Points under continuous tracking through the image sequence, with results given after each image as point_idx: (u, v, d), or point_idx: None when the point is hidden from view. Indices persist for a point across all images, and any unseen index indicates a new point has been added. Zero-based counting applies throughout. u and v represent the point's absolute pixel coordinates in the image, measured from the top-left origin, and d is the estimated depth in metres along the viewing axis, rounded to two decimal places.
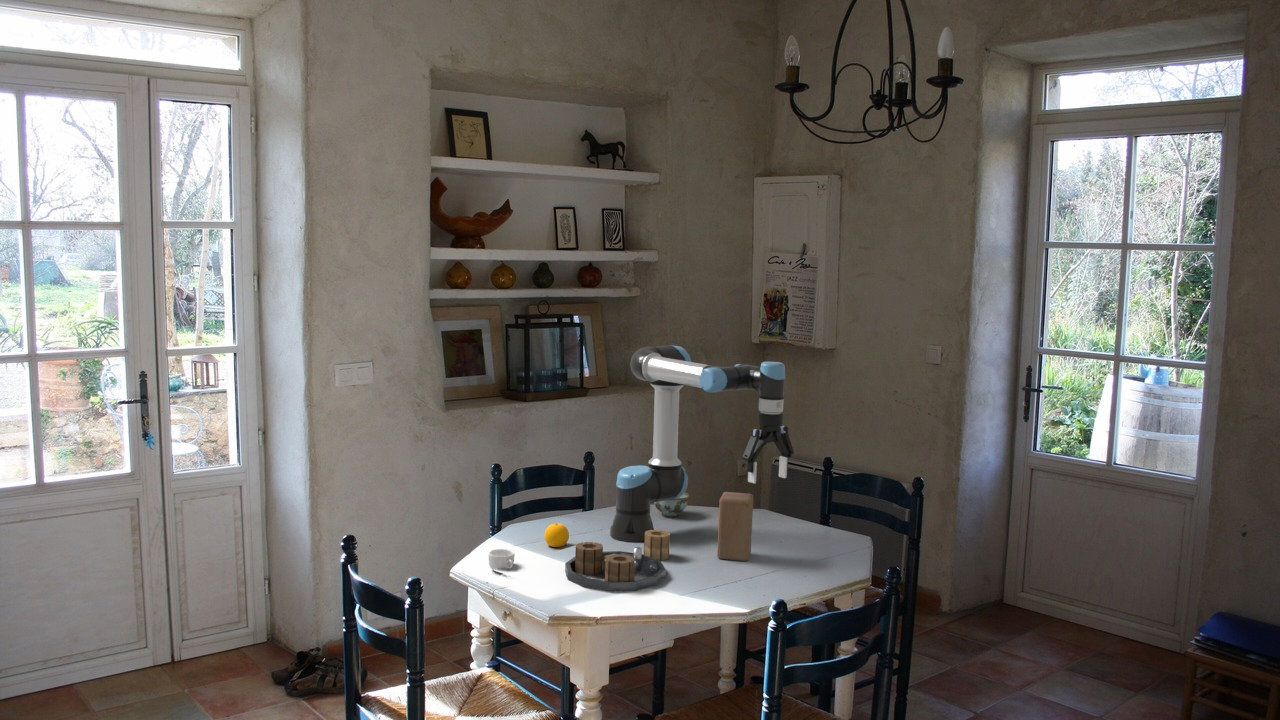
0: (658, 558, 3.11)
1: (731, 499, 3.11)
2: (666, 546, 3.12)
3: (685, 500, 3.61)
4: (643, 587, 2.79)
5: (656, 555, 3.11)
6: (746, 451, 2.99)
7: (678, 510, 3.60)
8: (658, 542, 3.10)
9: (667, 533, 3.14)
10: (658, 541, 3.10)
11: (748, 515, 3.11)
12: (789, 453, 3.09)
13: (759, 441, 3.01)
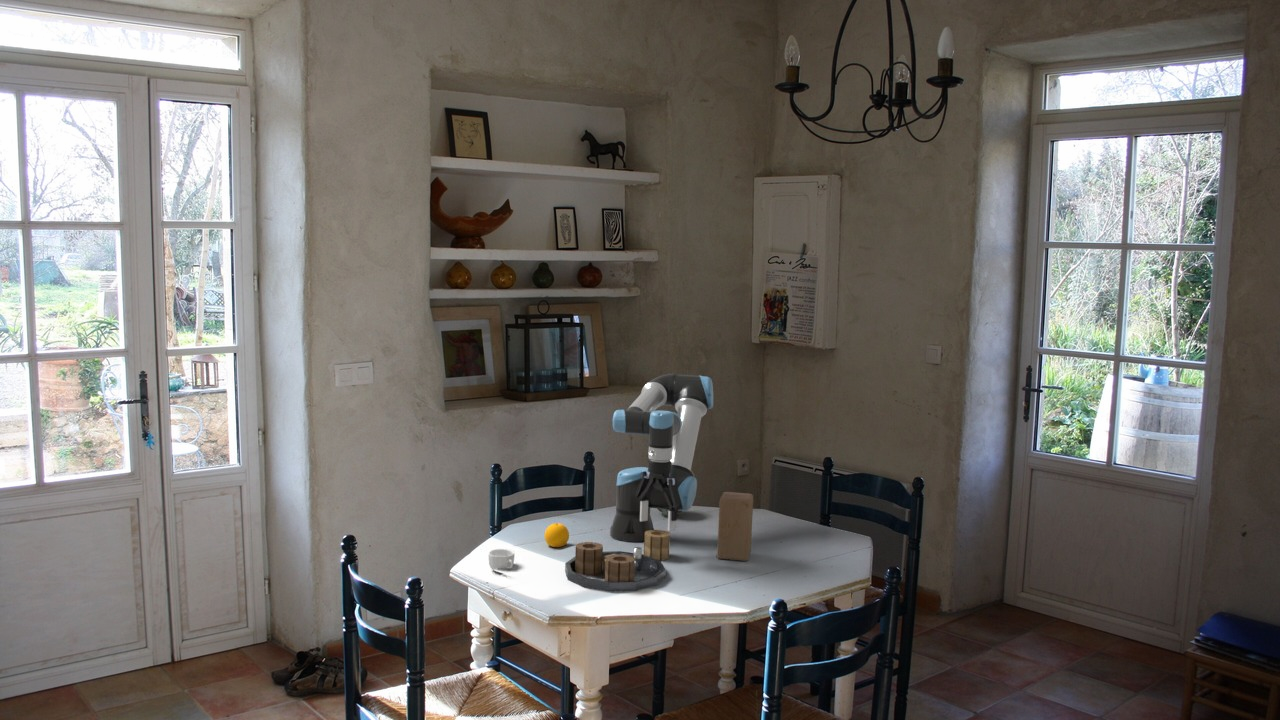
0: (658, 558, 3.11)
1: (731, 499, 3.11)
2: (666, 546, 3.12)
3: None
4: (643, 587, 2.79)
5: (656, 555, 3.11)
6: None
7: (678, 510, 3.60)
8: (658, 542, 3.10)
9: (667, 533, 3.14)
10: (658, 541, 3.10)
11: (748, 515, 3.11)
12: None
13: None
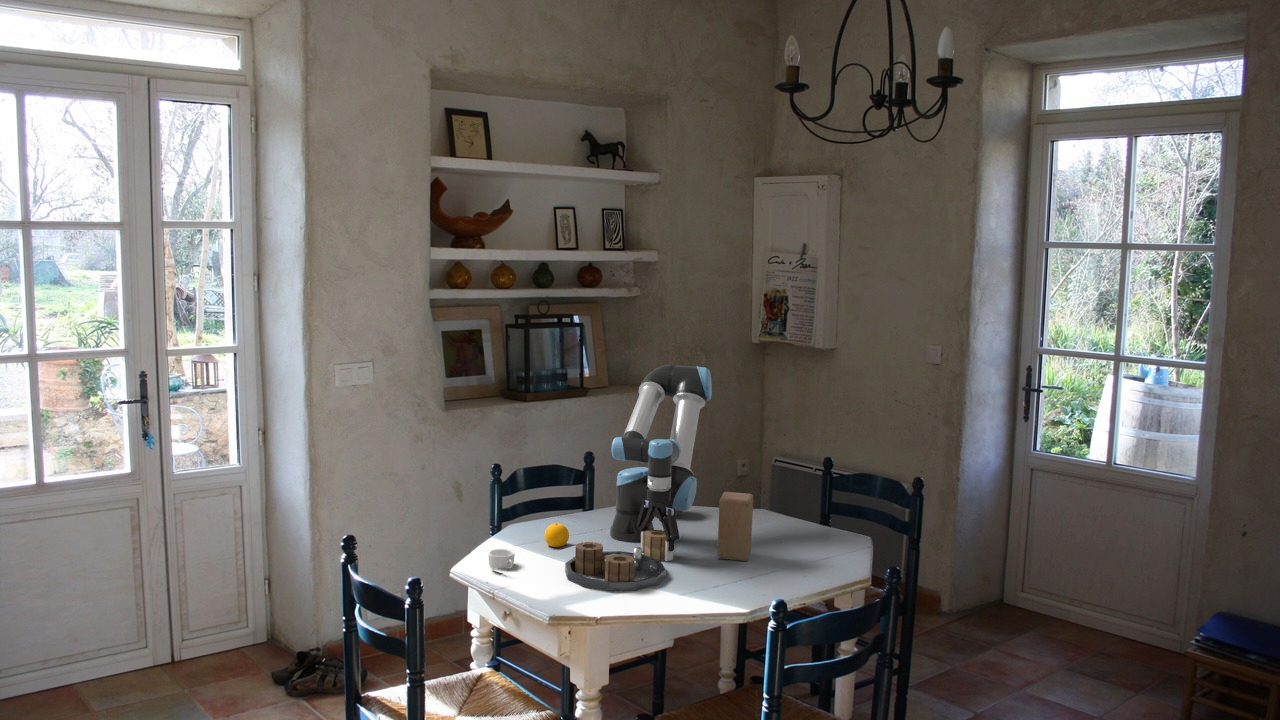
0: (658, 558, 3.11)
1: (731, 499, 3.11)
2: None
3: None
4: (643, 587, 2.79)
5: (656, 555, 3.11)
6: None
7: (678, 510, 3.60)
8: (658, 542, 3.10)
9: None
10: (658, 541, 3.10)
11: (748, 515, 3.11)
12: None
13: None
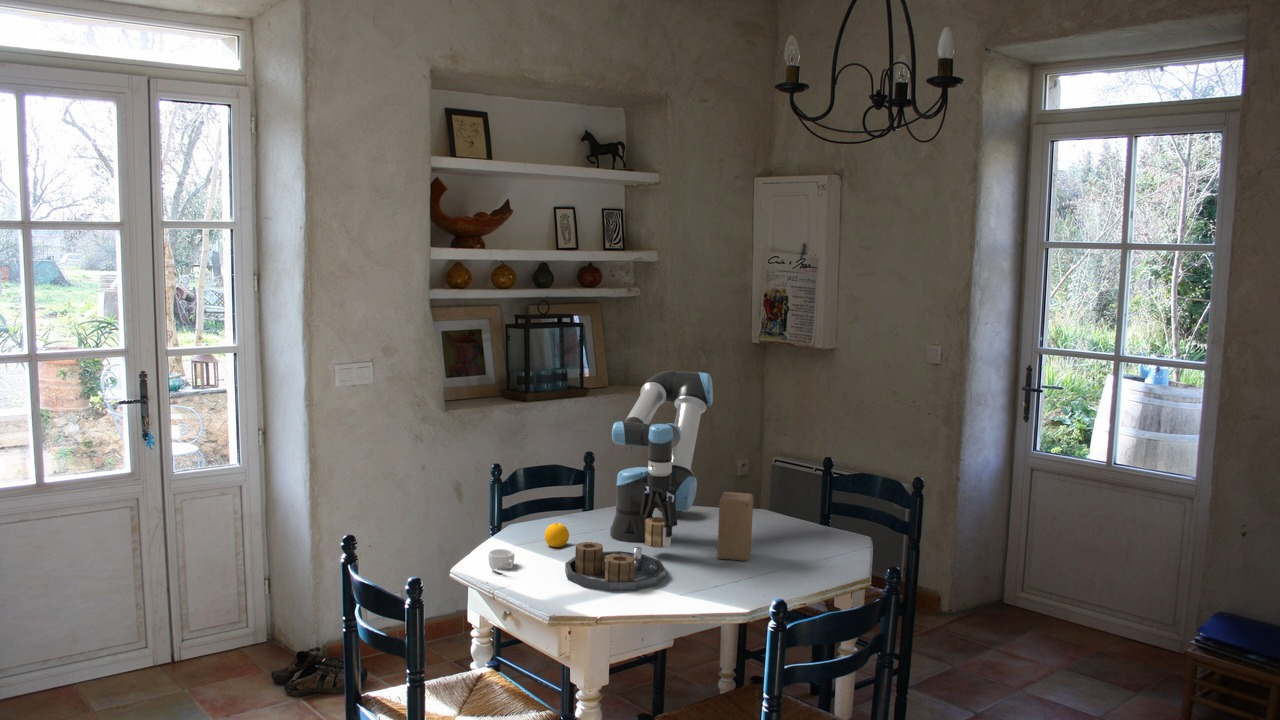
0: (659, 545, 3.11)
1: (731, 499, 3.11)
2: None
3: None
4: (643, 587, 2.79)
5: (657, 543, 3.11)
6: None
7: (678, 510, 3.60)
8: (659, 530, 3.10)
9: None
10: (659, 529, 3.10)
11: (748, 515, 3.11)
12: None
13: None
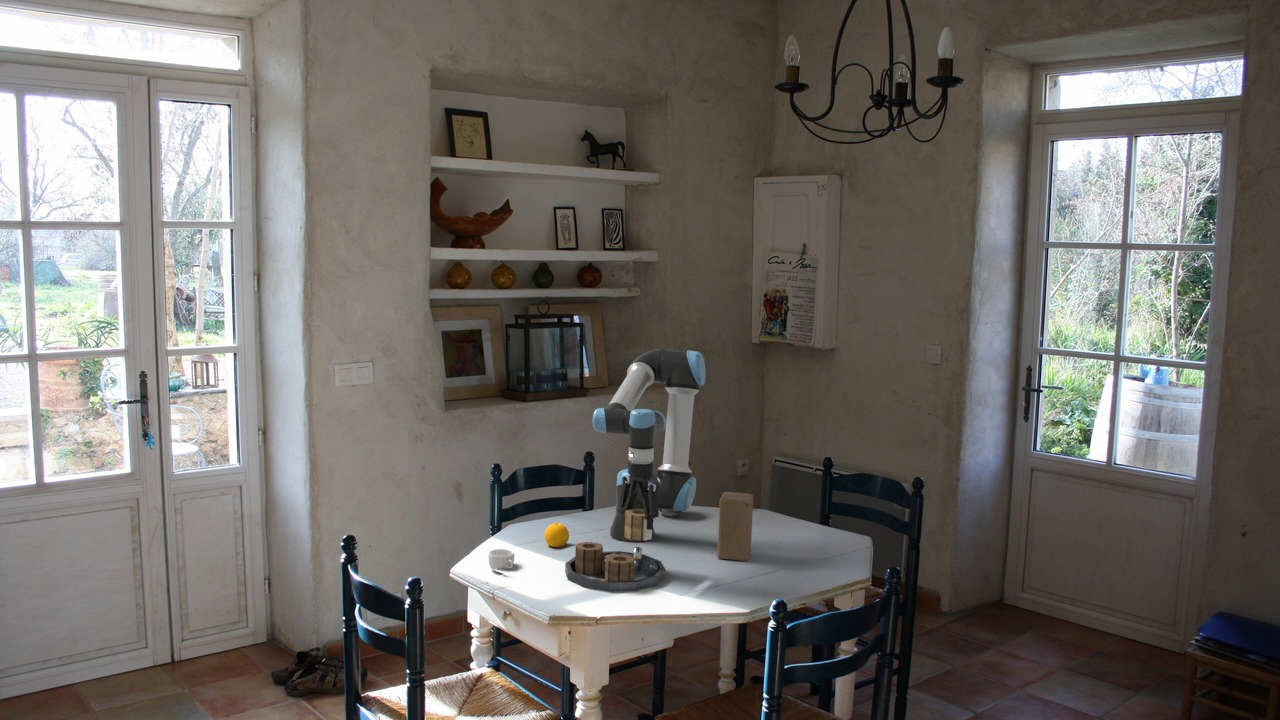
0: (639, 538, 2.91)
1: (731, 499, 3.11)
2: None
3: None
4: (643, 587, 2.79)
5: (637, 535, 2.91)
6: None
7: None
8: (639, 521, 2.91)
9: None
10: (639, 520, 2.91)
11: (748, 515, 3.11)
12: None
13: None
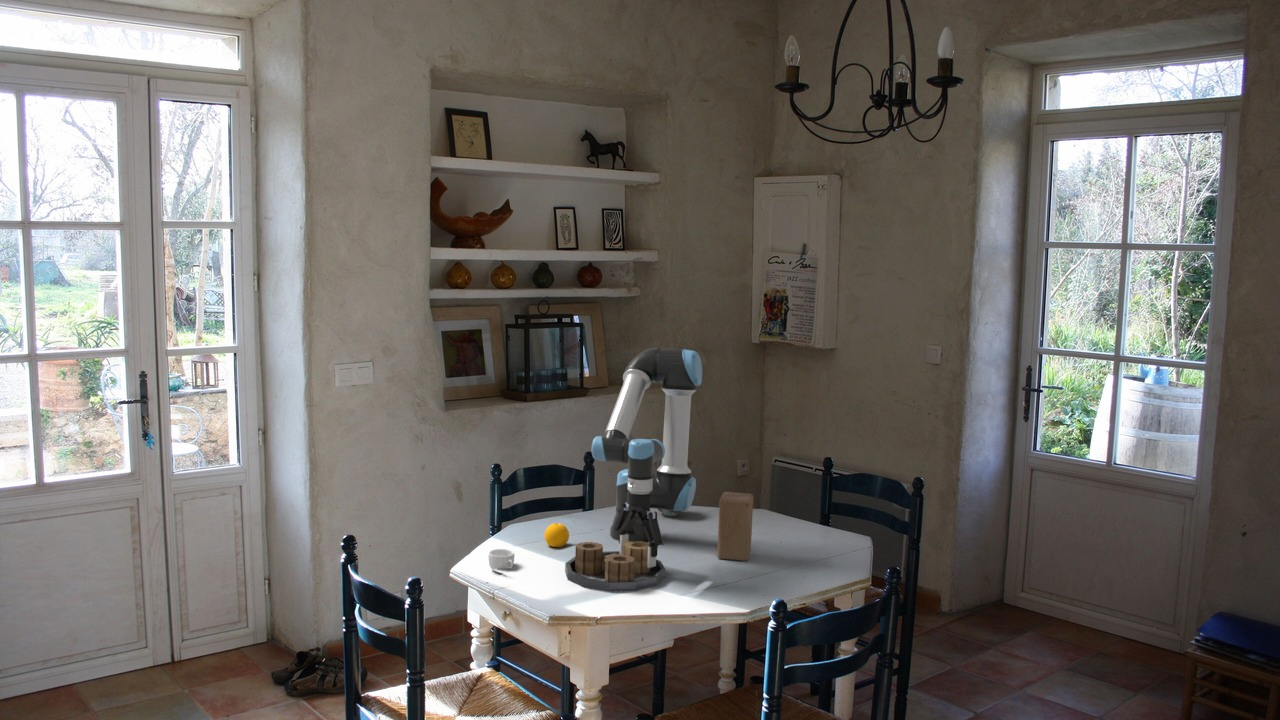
0: (638, 571, 2.92)
1: (731, 499, 3.11)
2: (647, 559, 2.93)
3: None
4: (643, 587, 2.79)
5: (636, 568, 2.92)
6: None
7: None
8: (638, 554, 2.92)
9: (648, 545, 2.96)
10: (638, 553, 2.92)
11: (748, 515, 3.11)
12: None
13: None
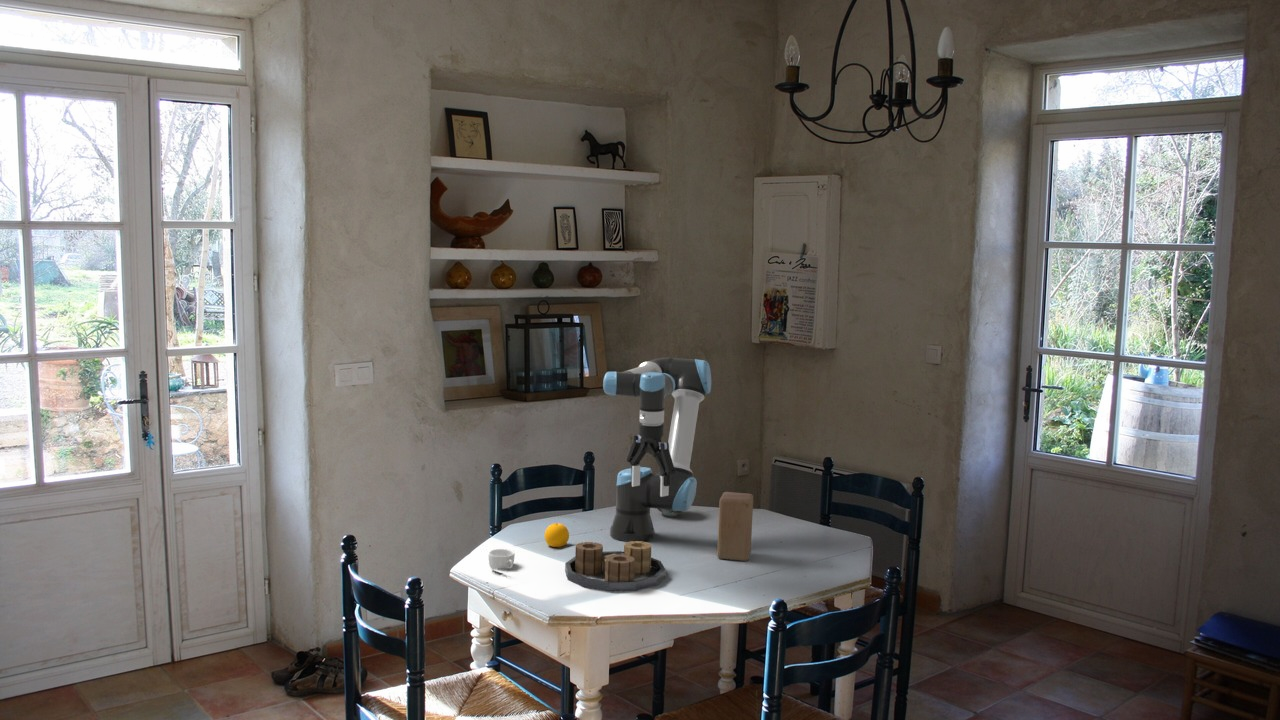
0: (638, 571, 2.92)
1: (731, 499, 3.11)
2: (647, 559, 2.93)
3: None
4: (643, 587, 2.79)
5: (636, 568, 2.92)
6: None
7: None
8: (638, 554, 2.92)
9: (648, 545, 2.96)
10: (638, 553, 2.92)
11: (748, 515, 3.11)
12: None
13: None
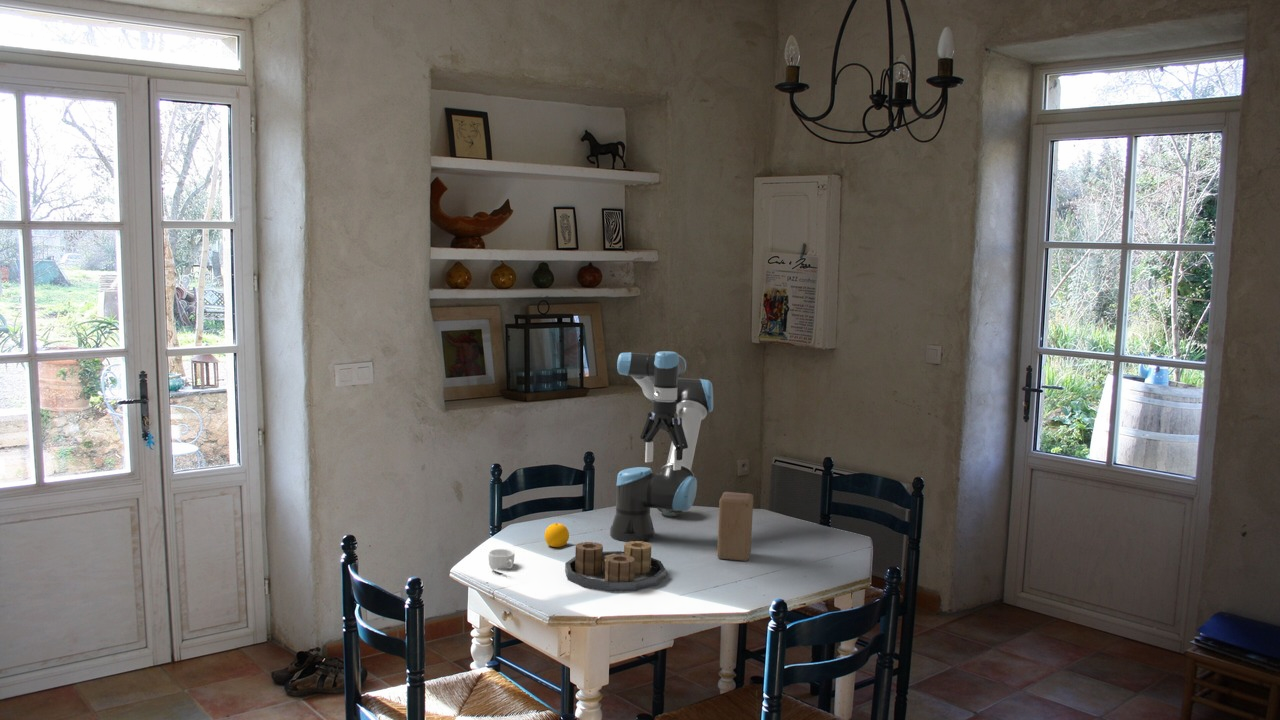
0: (638, 571, 2.92)
1: (731, 499, 3.11)
2: (647, 559, 2.93)
3: None
4: (643, 587, 2.79)
5: (636, 568, 2.92)
6: None
7: (678, 510, 3.60)
8: (638, 554, 2.92)
9: (648, 545, 2.96)
10: (638, 553, 2.92)
11: (748, 515, 3.11)
12: None
13: None
